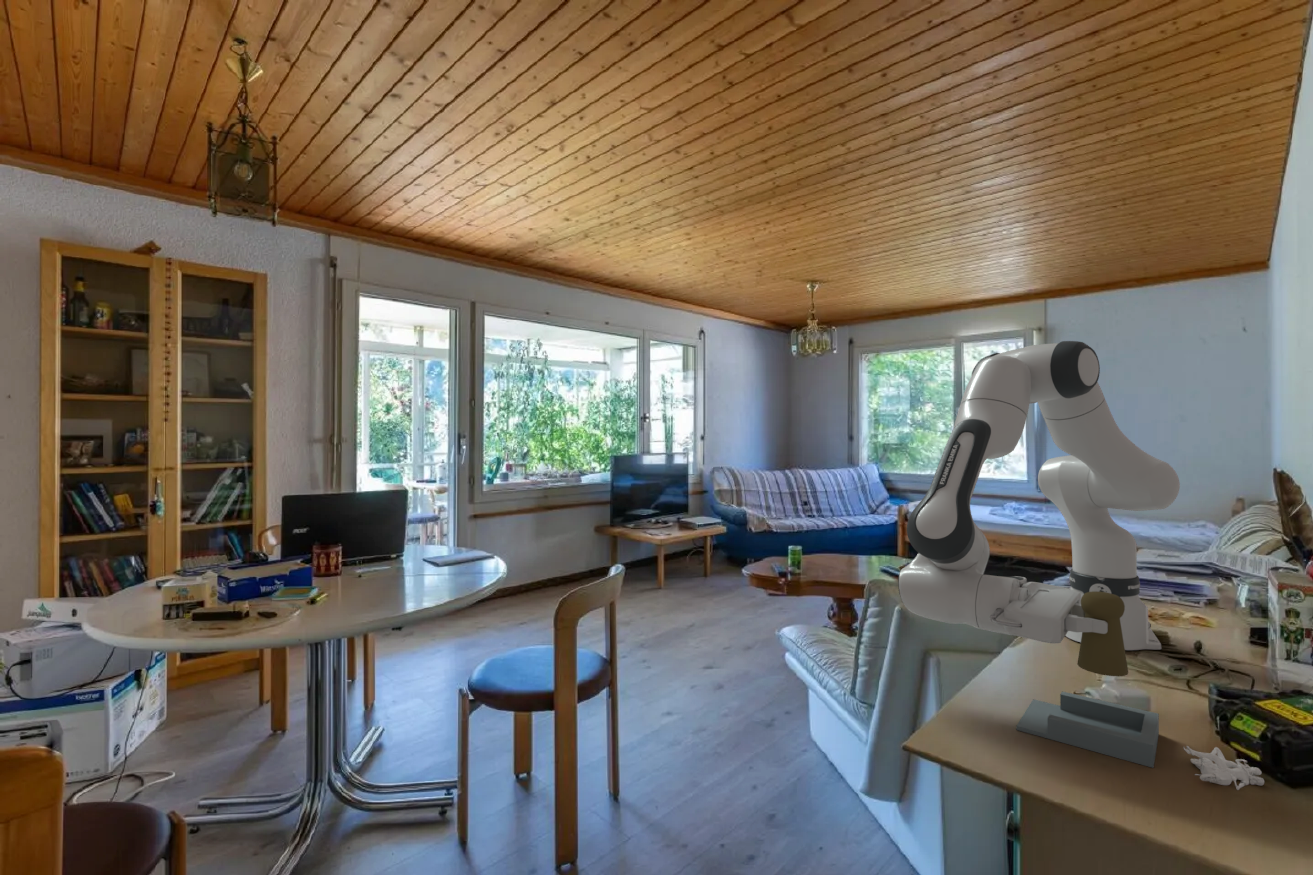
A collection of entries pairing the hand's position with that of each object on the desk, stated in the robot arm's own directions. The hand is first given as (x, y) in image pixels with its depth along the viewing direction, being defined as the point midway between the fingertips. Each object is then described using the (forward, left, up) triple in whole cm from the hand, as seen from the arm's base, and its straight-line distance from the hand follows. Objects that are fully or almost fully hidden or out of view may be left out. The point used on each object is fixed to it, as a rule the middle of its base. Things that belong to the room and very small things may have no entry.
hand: (1110, 622), depth 89 cm
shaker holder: (0, -3, -17) cm, 17 cm away
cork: (0, -1, -7) cm, 7 cm away
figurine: (+3, +12, -17) cm, 21 cm away
